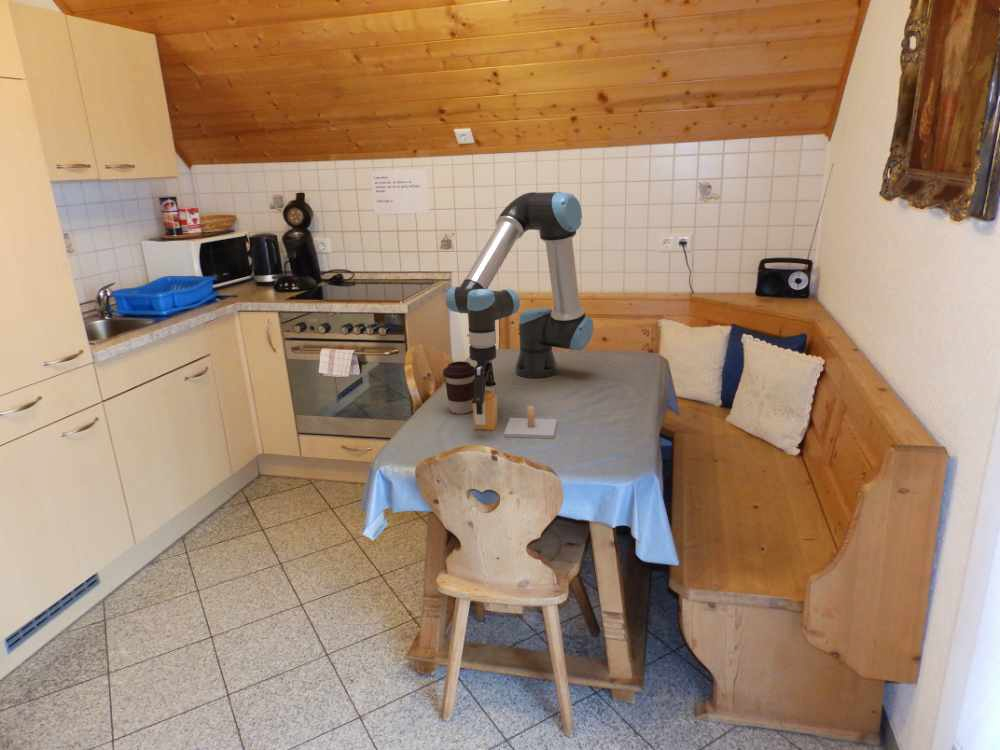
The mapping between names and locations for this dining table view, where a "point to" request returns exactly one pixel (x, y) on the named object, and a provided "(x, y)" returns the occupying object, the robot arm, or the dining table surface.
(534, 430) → the white pegged board
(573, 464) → the dining table surface
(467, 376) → the coffee cup
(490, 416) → the orange toy brick
